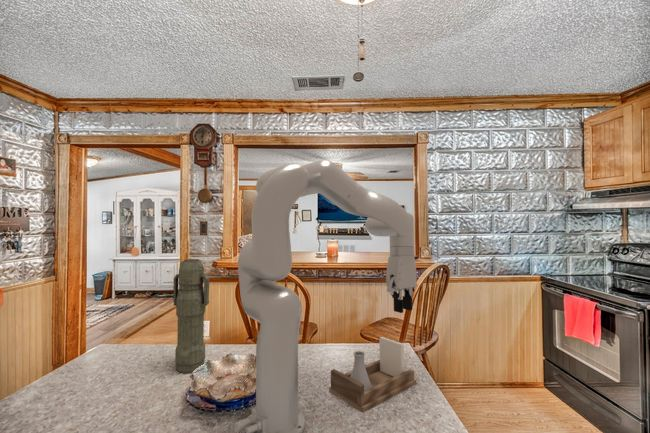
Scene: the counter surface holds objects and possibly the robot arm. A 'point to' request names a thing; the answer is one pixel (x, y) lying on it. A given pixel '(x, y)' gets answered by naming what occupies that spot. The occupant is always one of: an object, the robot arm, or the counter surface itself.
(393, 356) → the rectangular block
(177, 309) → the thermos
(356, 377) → the flask
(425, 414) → the counter surface
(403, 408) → the counter surface
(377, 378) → the wooden crate tray
